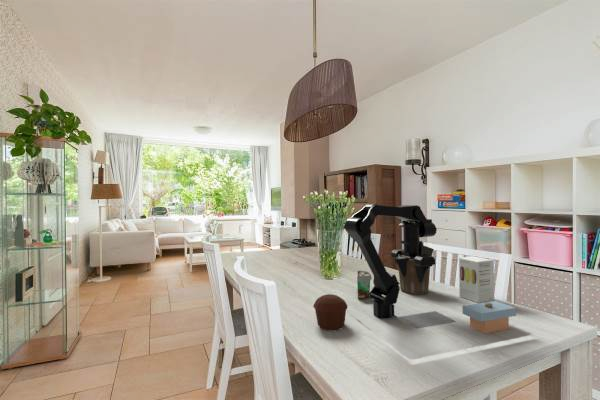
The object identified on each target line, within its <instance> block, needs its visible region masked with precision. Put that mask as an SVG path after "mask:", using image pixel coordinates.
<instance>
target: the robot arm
mask: <svg viewBox="0 0 600 400" xmlns="http://www.w3.org/2000/svg"><path fill="white" fill-rule="evenodd" d="M377 216H383V217H384V216H385V217H386V216H387V217H396V218H398V219H399V220H402V221H401V222H400V223H399V224H398V228H400V227H402V230H403V232H402V233H403V240H400V244H401V245H402V244H403V248H400V249H399V248H398V249H393V250H392V251H391V252H390V257H391V258H393V260H394V262H395V263H396V265H397V268H398V267H399V269H400V271H401V273H402V275H403V277H406V274H407V262H408V261H409V259H412V260H414V262H415V263H416V264H415V265H414V266H415V270H416V274H417V278H418V281H419V283H422V281H423V278H424V276H425V273H426V271H427V269H428V268H429V267H430V266H431V267H432V266H434V265H436V258H435V257H434V256H433V253H434V248H432V247H429V246H426V245H424V243H423V241H422V240H420V238H431V237H434V236H435V235H436V234H437V227H436V224H435V223H433V219H432V218H431V219H429V218H427V217H426V216H425V213H424V212H423V210H422V208H421V206H419V205H412V204H411V205H410V204H409V205H406V204H404V205H398V206H394V205H393V206H392V205H381V204H380V205H379V204H377V203H367V204H365V205H364V206H363V207H362V209H360V210H359V211H357V212H355V213H354V214H353V215H352V216H351V217H349V218H348V219H346V221H345V224H344V230H345V231H346V233H347V234H348V236H349V237H350V238H351V239H352V240H353V241H355V242H356V244H357V245H358V247H359V249H360V251H361V253H362V255H363V257H364V260H365V261H366V262H367V265H368V267H369V269H370V272H371V274H372V275H373V281H372V282H373V287H372V289H370V293H369V298H370V299H371V300H372V301H373V302H372V305H373V306H372V309H373V316H374V317H375V318H377V319H385V320H386V319H391V318H392V317H394V316H395V305H394V304H397V302H398V298H399V293H400V291H401V289H400V281H399V280H398V278H397V276H396V274H395V273H391V272H388V271H387V269H386V267H385V265H384V263H383V261H382V259H381V256H380V255H379V252H378V251H377V249H376V247H375V245H374V242H373V241H372V238H371V237H372V229H371V227H372V226H373V225H374V224H375V221H376V218H377ZM419 255H420V256H419ZM431 267H430V268H431Z"/></svg>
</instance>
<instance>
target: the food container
mask: <svg viewBox="0 0 600 400" xmlns="http://www.w3.org/2000/svg"><path fill="white" fill-rule="evenodd" d="M356 279H357V300H368V299H369V298H370V295H369V293H370V292H371V280H372V279H373V278H372V273H370V272H368V271H367V270H366V271H365V270H357V277H356Z"/></svg>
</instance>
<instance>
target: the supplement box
mask: <svg viewBox="0 0 600 400" xmlns="http://www.w3.org/2000/svg"><path fill="white" fill-rule="evenodd" d="M458 258H459V259H458V261H459V263H458V265H459V267H458V268H459V269H458V271H459V275H458V276H459V287H458V288H459V291H458V292H459V297H461V298H463V299H466V300H469V301H471V302H474V303H475V304H478V303H485V302H492V301H495V267H494V266H495V262H494V261H495V260H493V259H490V258H484V257H479V256H473V255H472V256H464V257H458Z"/></svg>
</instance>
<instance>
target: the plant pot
mask: <svg viewBox="0 0 600 400" xmlns="http://www.w3.org/2000/svg"><path fill="white" fill-rule="evenodd" d="M419 256H420V255H419ZM415 264H416V263H415V262H414V260H412V259H409V261H408V262H407V274H406V277H403V275H402V273H401V271H400V269H399V267H398V266H397V268H398V276H399V283H400V284H399V287H400V291H402V292H404V293H405V294H410V295H423V294H428V292H429V287H430V286H429V285H430V274H431V267H432V266H430V267H429V268H428V269H427V271H426V273H425V276H424V278H423V281H422V283H419V281H418V278H417V274H416V270H415V266H414V265H415Z"/></svg>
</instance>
